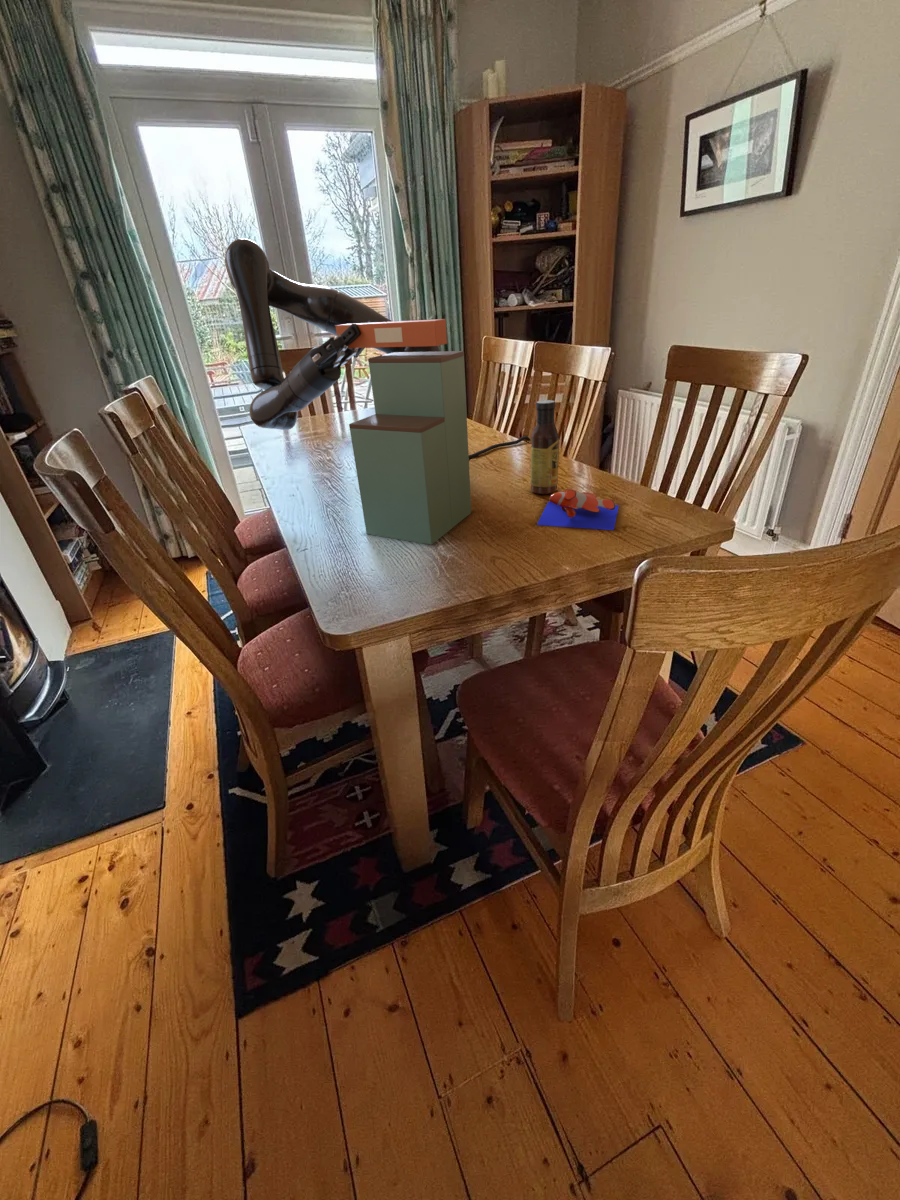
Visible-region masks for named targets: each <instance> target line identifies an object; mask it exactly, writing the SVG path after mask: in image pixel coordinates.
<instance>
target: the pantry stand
mask: <svg viewBox="0 0 900 1200" xmlns="http://www.w3.org/2000/svg"><path fill="white" fill-rule="evenodd" d="M464 352H465V351H463V350H451V351H450V350H448V351H447V350H445V351H443V350H442V351H441V350H440V351H439V352H393V353H389V354H387V353H385V354H380V355H377V356H373V357H369V358H367V361H368V367H369V368H368V369H369V375H370V383H371V390H372V391H371V392H372V398H373V405H374V413H375V414H372V415H370V416H366V417H364V418H362V419H359V420H356V421H353V422H351V423H349V424H348V427H349V433H350V438H351V446H352V451H353V458H354V464H355V471H356V476H357V483H358V488H359V489H358V490H359V496H360V502H361V506H362V514H363V520H364V527H365V532H366V535H371V536H375V537H376V536H378V537H382V538H388V539H394V540H400V541H406V542H411V543H412V542H413V543H417V544H424V545H431V546H432V545H433V544H435V543H436V542H437V541H438V540H439V539H441V538H442V537H443V536H445V535H446V534H447V533H449V532H450V531H451V530H453V529H454V528H455V527H456V526H457V525H459V524H460V523H461V522H462V521H463V520H464V519H466V518H467V517H468V516H469V515H471V514H472V497H471V496H472V495H471V478H470V477H471V476H470V474H471V473H470V459H469V455H470V453H469V438H468V437H469V435H468V432H469V431H468V415H467V393H466V373H465V372H466V371H465V353H464Z"/></svg>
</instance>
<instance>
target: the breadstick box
mask: <svg viewBox="0 0 900 1200" xmlns="http://www.w3.org/2000/svg"><path fill="white" fill-rule="evenodd" d="M392 321H393V322H372V323H352V324H357V326H358V328H359V329H360V331H361V335H360V336H359V337H358V338H357V339H355V340H354V341H353V342H352V343H351V344H350V345H348V344H347V345H348V348H364V349H374V348H379V347H424V346H439V347H440V346H443V345H448V333H447V321H446V318H438V319H437V318H436V319H418V320H417V319H415V320H397V321H396V320H395V321H394V320H392ZM352 324H342V325H336V332H337V335H340V334H342V333H343V332H344V331H345V330H346V329H348V328H349V327H350V326H351V325H352Z"/></svg>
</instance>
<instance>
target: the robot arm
mask: <svg viewBox="0 0 900 1200" xmlns="http://www.w3.org/2000/svg"><path fill="white" fill-rule="evenodd" d="M224 255H225V256H224V264H225V268H226V273H227V275H228V279H229V282H230V284H231V286H232V287H233V289H234V290H235V292H236V297H237V300H238V304H239V309H240V313H241V318H242V327H243V333H244V340H245V347H246V353H247V354H246V355H247V361H248V366H249V371H250V378H251V381H252V384H253V385H254V386H255V387H257V388H258V389H259V388H260V389H261V390H263V391H261V392H260V393H258V394H257V395H256V396H255V397H254V398H253V399H252V401H251V403H250V405H249V417H250V420H251V421H252V423H253V424H254V425H255V426H257V427H259V428H262V429H268V430H269V429H270V430H280V431H281V430H282V431H289V430H291V429H293V428H294V427H295V425H296V424H297V421H298V412H301V411H302V410H304V409H306V407H308V406H309V405H310V404H311V403H312V402H313V401H314V400H316V399H317V398H319V397H321V396H322V395H323V394H324V393H326V391H327V390H328V389H330V388H331V387H332V386H333V385H334V384H335V383H336V382H337V381H339V380H340V378H341V376H342V368H341V367H342V366H344V365H345V364H347V363H348V362H349V360H350V359H352V358H354V359H355V358H358V357H359V356H360V355H361V353H362V352H363V351H364V350H365V348H348V345H350V344H351V343H352V342H353V341H354V340H355V339H357V338H358V337H359V336H360V335H361V331H360V329H359V328H358V326H357V324H352V323H372V322H393V321H394V320H391V319H389V318H387V317H386V316H384V315H383V314H381V313H380V312H378V311H376V310H375V309H374V308H372V307H370V306H368V305H367V304H365V303H363V302H361V301H360V300H357V299H356V298H354V297H352V296H350V295H348V294H346V293H344V292H341V291H339V290H338V289H335V288H333V287H330V286H325V285H318V284H308V283H301V282H297V281H294V280H292V279H291V278H290V279H289V278H288V277H287V276H284V275H282V274H280V273H279V272H276V271H275V270H274V269H271V268H270V263H269V260H268V257H267V255H266V253H265V251H264V250H263V248H262V247H261V246H260V245H259V244H258V243H256V242H255V241H253V240H251V239H248V238H238V239H235V240H233V241H232V242H230V244H229V245H228V246H227V248H226V251H225V253H224ZM271 308H273V309H277V310H280V311H282V312H285V313H288V314H289V315H291V316H293V317H296V318H297V319H299V320H302V321H303V322H306V323H308V324H310V325H312V326H314V327H316V328H317V329H320V330H321V331H324V332H327V333H329V334H331V335H333V336H331V337H330V338H328V339H327V340H325V342H323V343H322V344H321V345H319V346H314V347H312V348H311V349H310V350H309V351H308V352H307V353H306V354H305V355H304V356H303V357H302V358H301V359H300V360H299V361H298V362H297V363H296V365H294V366H293V368H292V369H291V371H290V372H289V373H288V374H287V375H286V376H284V371H283V365H282V359H281V355H280V349H279V345H278V341H277V337H276V332H275V328H274V324H273V319H272V313H271ZM342 324H352V325H351V326H350V327H349V328H348V329H346V330H345V331H344V332H343V333H342V334H340V335H337V332H336V325H342ZM347 344H348V345H347ZM373 350H377V351H380V352H382V353H385V354H389V353H393V352H439V351H441V348H440V345H439V346H424V347H379V348H373ZM524 440H525V441H527V442H530V441H531V442H532V439H531V438H530V437H529V436H527V435H524V436H520V437H519V438H518V439H516V440H512V441H507V442H501V443H495V444H493V445H490V446H488V447H486V448H483V449H480V450H478V451H476V452H474V453H472V454H469V460H470V459H473V458H476V457H478V456H480V455H483V454H486V453H487V452H489V451H491V450H495V449H498V448H502V447H507V446H514V445H517V444H520V443H521V442H522V441H524Z"/></svg>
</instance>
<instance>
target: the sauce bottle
mask: <svg viewBox="0 0 900 1200" xmlns="http://www.w3.org/2000/svg"><path fill="white" fill-rule="evenodd" d="M535 408H536V425H535V426H534V428H533V429H532V431H531V438H530V440H531V446H530V490H531V492H532V493H534V494H536V495H549V494H550V495H551V494H553V493H556V492H557V489H558V484H559V463H560V461H559V460H560V436H559V433H558V429H557V426H556V423H555V409H556V401H555V400H552V399H544V400H538V401H536V405H535Z"/></svg>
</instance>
